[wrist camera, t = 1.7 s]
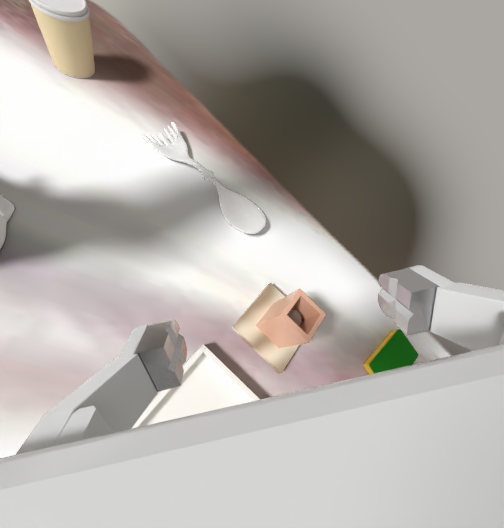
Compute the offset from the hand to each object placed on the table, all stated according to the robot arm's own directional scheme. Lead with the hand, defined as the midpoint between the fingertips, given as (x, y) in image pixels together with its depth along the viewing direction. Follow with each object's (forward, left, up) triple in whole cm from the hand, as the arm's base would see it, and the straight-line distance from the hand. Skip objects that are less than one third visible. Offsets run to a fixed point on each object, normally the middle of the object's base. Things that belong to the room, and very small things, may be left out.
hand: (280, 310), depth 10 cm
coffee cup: (-62, +27, -36) cm, 76 cm away
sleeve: (+9, +15, -34) cm, 38 cm away
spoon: (-22, +29, -36) cm, 51 cm away
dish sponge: (+35, +29, -36) cm, 58 cm away
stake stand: (+9, +15, -35) cm, 40 cm away
